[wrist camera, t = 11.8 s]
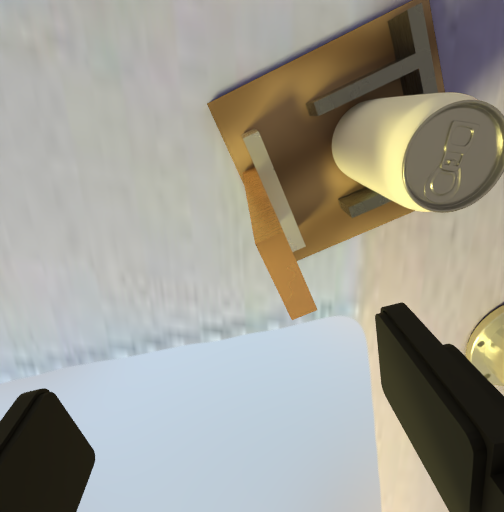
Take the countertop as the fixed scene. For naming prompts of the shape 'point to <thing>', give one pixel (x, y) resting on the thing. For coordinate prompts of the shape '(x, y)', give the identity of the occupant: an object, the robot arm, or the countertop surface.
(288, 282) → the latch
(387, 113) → the can
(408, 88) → the can holder
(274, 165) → the rail board
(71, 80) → the countertop surface
